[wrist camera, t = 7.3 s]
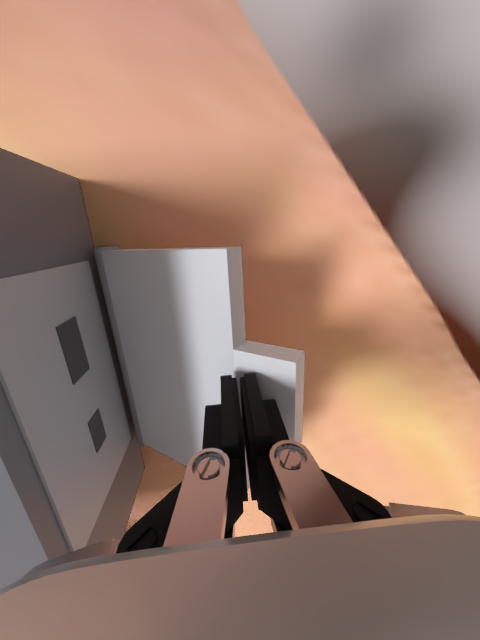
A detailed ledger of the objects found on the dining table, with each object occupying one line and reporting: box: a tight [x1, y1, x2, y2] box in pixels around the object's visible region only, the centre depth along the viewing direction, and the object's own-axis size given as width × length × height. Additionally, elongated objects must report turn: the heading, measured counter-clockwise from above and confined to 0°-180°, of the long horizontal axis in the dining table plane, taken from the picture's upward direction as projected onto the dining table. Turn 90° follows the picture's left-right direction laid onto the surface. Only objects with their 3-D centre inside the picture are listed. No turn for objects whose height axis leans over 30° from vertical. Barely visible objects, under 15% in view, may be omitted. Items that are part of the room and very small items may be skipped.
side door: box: [93, 246, 305, 490], centre depth 15 cm, size 14×1×13 cm
